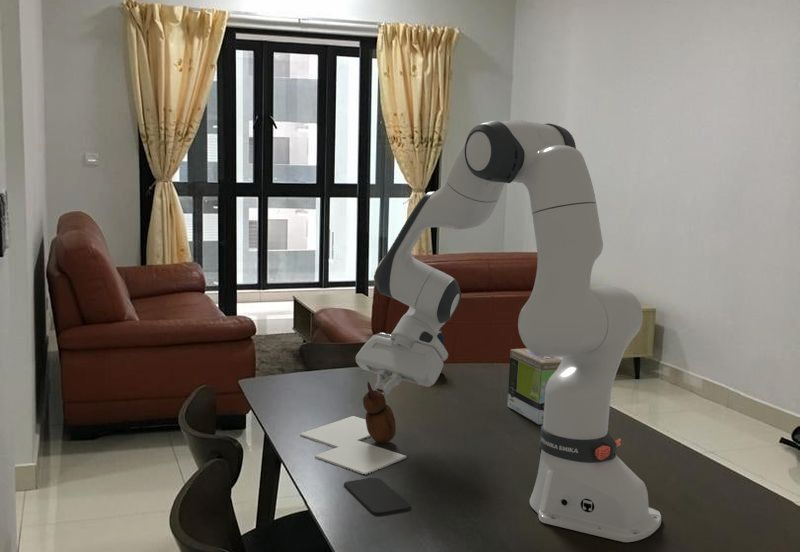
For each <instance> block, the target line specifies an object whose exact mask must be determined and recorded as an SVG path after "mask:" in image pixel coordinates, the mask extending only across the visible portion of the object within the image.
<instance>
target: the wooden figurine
mask: <svg viewBox="0 0 800 552" xmlns="http://www.w3.org/2000/svg"><path fill="white" fill-rule="evenodd" d="M367 390H368V391H367V392H366V393H365V394H364V396H363V397H362V404H363V408H364V410H365V411H366V413H365V420H366V425H367V430H368V433H369V434H370V436H371V437H370V438H372V440H373V441H375V442H376V443H378V444H386V443H389V442H390V441H392V440H393V439H394V438H395V436H396V430H397V429H396V428H397V427H396V426H397V425H396V419H395V415H394V412H393V409H392V408H391V406H390V405H388V404H387V403H386V402H387V401H386V398H385V396H384V395H385V394H382V392H380V391H378V390H374V389H373V388H372V386H371V384H370V382H369V381H367Z"/></svg>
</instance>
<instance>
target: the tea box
mask: <svg viewBox="0 0 800 552" xmlns="http://www.w3.org/2000/svg"><path fill="white" fill-rule="evenodd" d="M509 354H510V355H509V371H508V372H509V373H508V389H507V392H508V393H507V407H508V408H510V409H512V410H514V411H515V412H517V413H518V414H520V415H522V416H524V417H525V418H527V419H529V420H530V421H532V422H534V423H535V424H537V425H543V421H544V404H545V388H546V384H547V382H548V380H549V378H550V377H551V376H552V374H553V373H554V372H555V371H556V370H557V368H558V367H559V365H560V363H561V361H562V359H563V357H549V356H541V355H536V354H534V353H532V352H531V351H530V350H528V349H527V347H525V348H511V349H510V353H509Z"/></svg>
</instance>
